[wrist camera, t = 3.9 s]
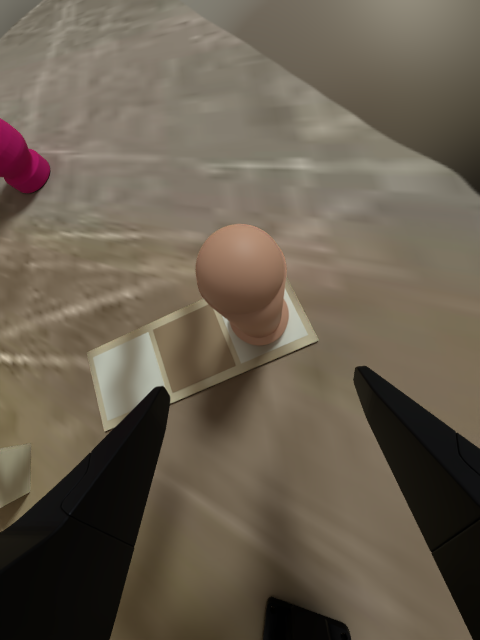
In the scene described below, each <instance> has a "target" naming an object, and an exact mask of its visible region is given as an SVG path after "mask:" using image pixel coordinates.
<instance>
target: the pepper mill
mask: <svg viewBox="0 0 480 640" xmlns="http://www.w3.org/2000/svg"><path fill="white" fill-rule="evenodd" d="M49 174H50V166H49V164H48V162H47V161H46V160H45V159H44V158H43V157H42V156H40V155H39V154H38V153H37V152H36V151H34V150H32V149H28V147H27V144H26V142H25V140H24V138H23V137H22V135H21V134H20V133H19V132H18V131H17V130H16V129H15V128H13V127H12V126H11V125H9V124H8V123H7V122H5V121H4V120H2V119H0V177H4V179H5V181H6V182H7V183H8V184H9V185H11V186H12V187H14V188H15V189H17V190H18V191H20V192H22V193H32V192H35V191H37V190H38V189H40V188H41V187H42V186H43V185H44V184H45V182H46V181H47V179H48V177H49Z"/></svg>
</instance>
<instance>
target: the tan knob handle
mask: <svg viewBox="0 0 480 640" xmlns="http://www.w3.org/2000/svg"><path fill="white" fill-rule="evenodd" d="M286 272H287V268H286V261H285V257H284V255H283V253H282V251H281V249H280V248H279V246H278V245H277V243H276V242H275V241H274V240H273V238H272V237H271V236H270V235H268V234H267V233H266V232H264V231H263V230H261V229H259V228H257V227H254V226H251V225H246V224H234V225H229V226H226V227H223V228H221V229H219V230H217V231H216V232H214V233H213V234H212V235H211V236H210V237H209V238H208V239H207V240H206V241H205V242H204V244H203V245H202V247H201V249H200V251H199V254H198V257H197V261H196V278H197V284H198V288H199V291H200V293H201V295H202V297H203V299H204V300H205V301H206V302H207V304H208V305H210V306H211V307H212V308H213V309H214V310H216V311H217V312H218V313H219V314H221V315H222V316H223V317H224V318H226V319H227V320H228V321H230V325H231V328H232V330H233V331H234V333H235V334H236V335H237V336H238V337H239V338H240V339H241V340H243V341H244V342H246V343H248V344H251V345H256V346H263V345H268V344H270V343H273V342H274V341H276V340H277V339H278V338H280V337H281V335H282V334H283V333H284V331H285V329H286V327H287V324H288V320H289V310H288V306H287V304H286V302H285V300H284V291H285V283H286Z"/></svg>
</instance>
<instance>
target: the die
mask: <svg viewBox="0 0 480 640" xmlns="http://www.w3.org/2000/svg"><path fill="white" fill-rule="evenodd" d="M30 486H31V443H29V444H23V445H17V446H11V447H6V448H0V508H1V507H3V506H5V505H7V504H9V503H10V502H12V501H14V500H16V499H18V498H20V497H22V496H23V495H25V494H27V493H29V492H30Z"/></svg>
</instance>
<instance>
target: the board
mask: <svg viewBox="0 0 480 640" xmlns="http://www.w3.org/2000/svg"><path fill="white" fill-rule="evenodd" d="M284 300H285V302H286V304H287V306H288V310H289V320H288V324H287V327H286V329H285V331H284V333H283V334H282V335H281V337H280V338H278V339H277V340H276V341H274V342H273V343H270V344H268V345H263V346H256V345H251V344H248V343H246V342H244V341H243V340H241V339H240V338H239V337H238V336H237V335H236V334H235V333H234V331H233V330H232V328H231V325H230V321H228V320H227V319H226V318H224V317H223V316H222V315H221V314H219V313H218V312H217V311H216V310H214V309H213V308H212V307H211V306H210V305H208V304H207V302H206V301H205V300H204V299H202V300H199V301H197V302H195V303H193V304H191V305H189V306H186V307H184V308H182V309H180V310H178V311H176V312H173V313H171V314H169V315H167V316H165V317H163V318H161V319H158V320H156V321H154V322H152V323H150V324H148V325H145V326H143V327H141V328H139V329H137V330H135V331H132V332H130V333H128V334H126V335H124V336H122V337H120V338H117V339H115V340H113V341H111V342H109V343H107V344H104V345H102V346H100V347H98V348H96V349H94V350H91V351H89V352H87V356H88V361H89V365H90V370H91V374H92V379H93V383H94V387H95V392H96V396H97V401H98V405H99V410H100V414H101V418H102V423H103V427H104V432H105V431H107V430H109V429H112V428H114V427H116V426H117V425H118V424H119V423H120V422H121V421H122V420H123V419H124V418H125V417H126V416H127V415H128V414H129V413H130V412H131V411H132V410H133V409H134V408H135V407H136V406H137V405H138V404H139V403H140V402H141V401H142V399H143V398H144V397H145V396H146V395H147V394H148V393H149V392H150V391H151V390H152V389H153V388H155V387H157V386H164V387H165V388H166V390H167V392H168V393H169V395H170V403H173V402H175V401H178V400H180V399H182V398H185V397H187V396H189V395H192V394H194V393H196V392H199V391H201V390H203V389H206V388H208V387H210V386H213V385H215V384H217V383H220V382H222V381H225V380H227V379H229V378H232V377H234V376H236V375H239V374H241V373H243V372H246V371H248V370H250V369H253V368H255V367H257V366H260V365H262V364H264V363H267V362H269V361H271V360H274V359H276V358H279V357H281V356H283V355H286V354H288V353H290V352H293V351H295V350H297V349H300V348H302V347H304V346H307V345H309V344H311V343H314V342H316V341H318V338H317V336H316V334H315V332H314V330H313V328H312V326H311V324H310V322H309V320H308V318H307V316H306V314H305V312H304V310H303V308H302V306H301V304H300V302H299V300H298V298H297V296H296V294H295V293H294V291H293V289H292V287H291V285H290V283H289V281H288V279H287V277H286V283H285V291H284Z"/></svg>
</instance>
